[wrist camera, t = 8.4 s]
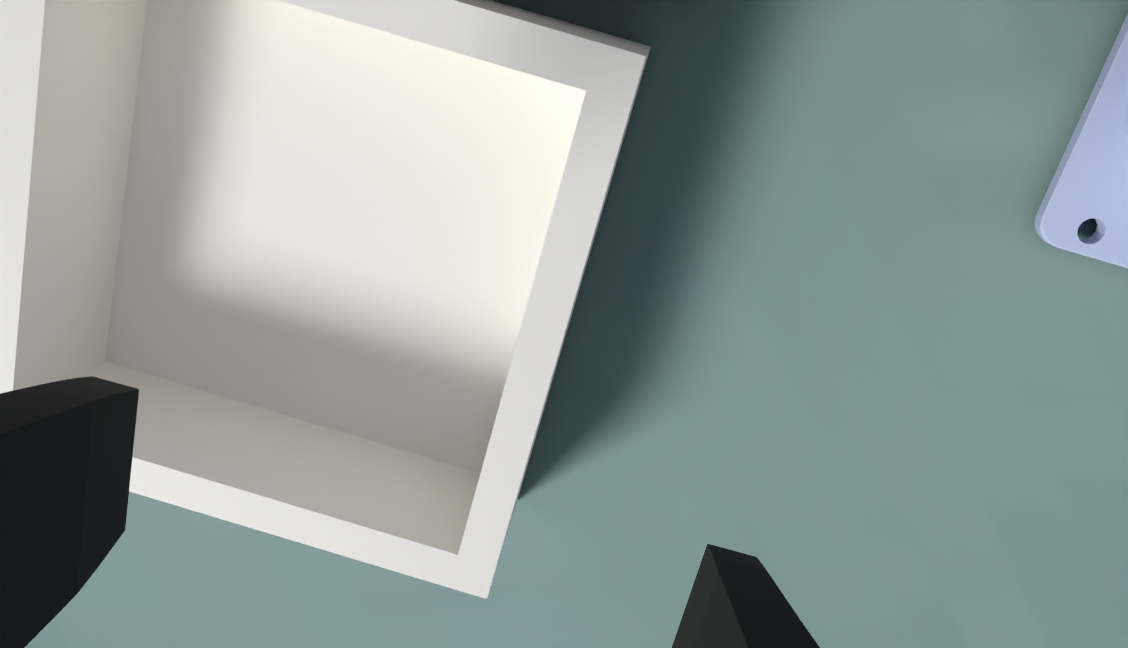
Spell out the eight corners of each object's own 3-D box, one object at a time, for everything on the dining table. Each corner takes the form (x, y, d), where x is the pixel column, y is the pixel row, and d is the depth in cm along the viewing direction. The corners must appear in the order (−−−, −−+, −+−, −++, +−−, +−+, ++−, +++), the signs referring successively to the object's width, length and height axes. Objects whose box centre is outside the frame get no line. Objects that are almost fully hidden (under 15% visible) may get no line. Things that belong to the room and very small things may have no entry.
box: (650, 46, 19) (645, 56, 16) (516, 502, 23) (486, 598, 19) (136, -104, 20) (8, -130, 16) (84, 372, 23) (-30, 443, 19)
